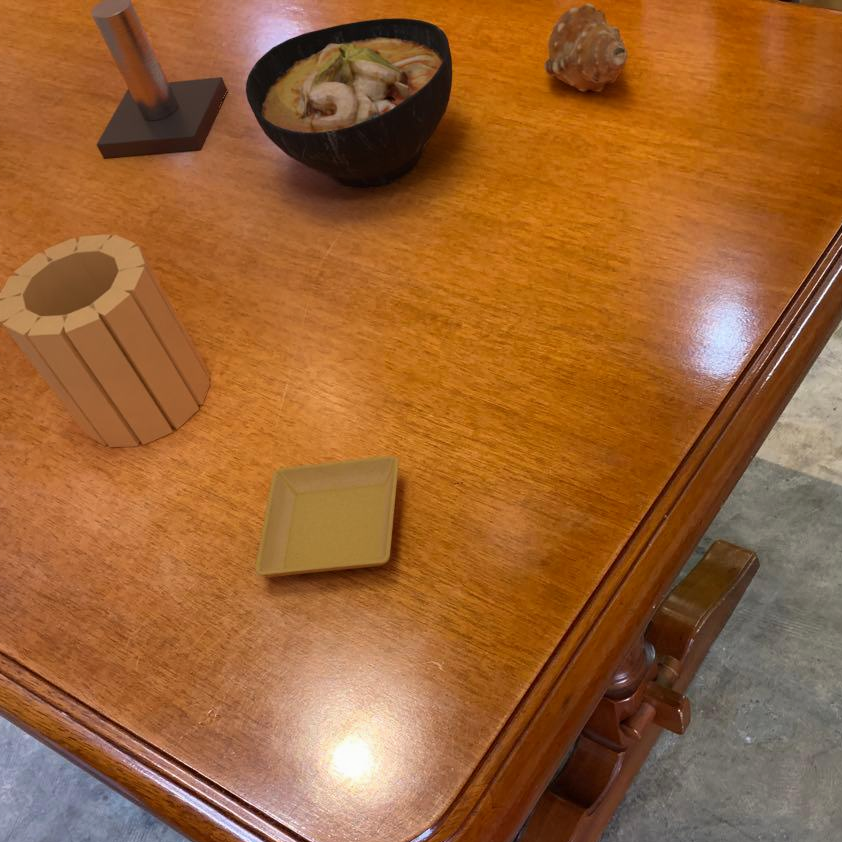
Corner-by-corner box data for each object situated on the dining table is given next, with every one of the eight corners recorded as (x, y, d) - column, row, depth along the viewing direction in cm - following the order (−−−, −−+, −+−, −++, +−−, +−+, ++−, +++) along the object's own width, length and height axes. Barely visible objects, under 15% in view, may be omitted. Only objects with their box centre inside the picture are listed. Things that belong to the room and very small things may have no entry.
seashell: (650, 92, 97) (667, 23, 87) (586, 144, 96) (596, 80, 86) (584, 23, 98) (594, -52, 88) (520, 74, 97) (523, 3, 87)
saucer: (264, 593, 65) (252, 574, 63) (283, 486, 70) (273, 466, 68) (397, 581, 64) (388, 562, 62) (407, 474, 69) (399, 453, 67)
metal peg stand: (103, 158, 99) (39, 42, 89) (136, 99, 104) (78, -16, 95) (200, 150, 97) (145, 30, 88) (228, 90, 103) (178, -28, 93)
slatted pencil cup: (61, 449, 75) (-27, 338, 67) (106, 352, 81) (30, 239, 72) (187, 445, 74) (114, 330, 65) (224, 346, 80) (161, 229, 71)
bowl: (318, 107, 98) (281, 2, 90) (490, 103, 94) (468, -7, 86) (255, 221, 89) (208, 115, 81) (443, 222, 85) (413, 111, 77)
